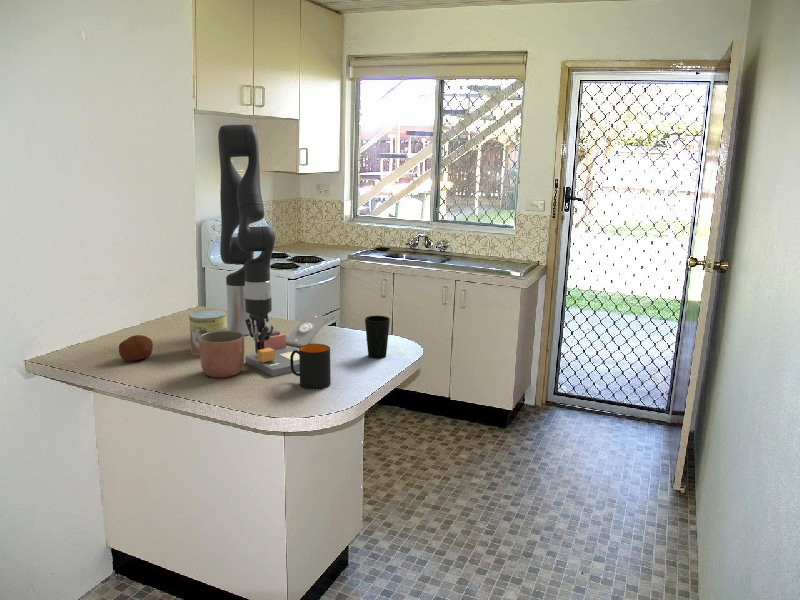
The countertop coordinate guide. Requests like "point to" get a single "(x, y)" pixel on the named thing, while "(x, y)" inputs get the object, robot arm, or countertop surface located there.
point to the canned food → (205, 325)
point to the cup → (377, 336)
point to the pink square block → (276, 341)
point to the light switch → (306, 330)
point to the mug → (313, 366)
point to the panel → (276, 362)
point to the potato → (135, 348)
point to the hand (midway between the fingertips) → (260, 353)
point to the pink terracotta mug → (221, 353)
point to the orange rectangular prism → (266, 354)
